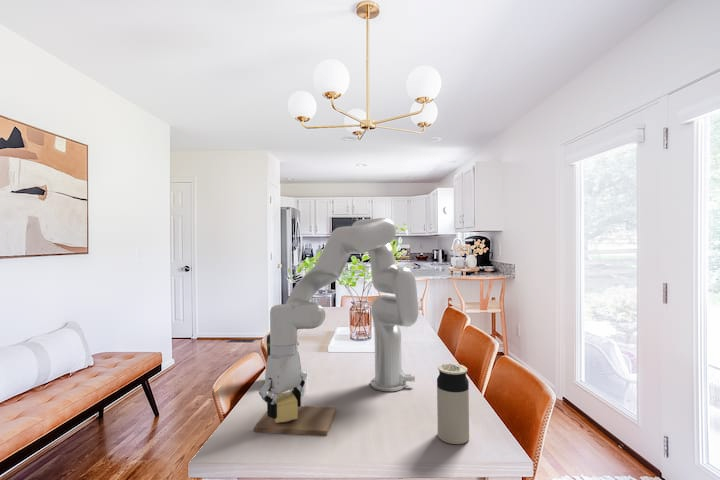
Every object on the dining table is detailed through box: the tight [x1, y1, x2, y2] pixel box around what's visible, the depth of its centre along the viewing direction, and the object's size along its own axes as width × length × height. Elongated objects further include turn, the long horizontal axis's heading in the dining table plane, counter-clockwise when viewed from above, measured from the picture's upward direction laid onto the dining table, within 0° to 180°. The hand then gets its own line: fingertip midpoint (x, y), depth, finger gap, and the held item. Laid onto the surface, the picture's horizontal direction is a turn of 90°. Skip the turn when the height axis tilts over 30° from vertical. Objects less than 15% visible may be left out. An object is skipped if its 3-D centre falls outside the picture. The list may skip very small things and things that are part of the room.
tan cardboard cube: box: [271, 392, 298, 423], centre depth 105 cm, size 6×6×5 cm
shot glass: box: [289, 369, 309, 398], centre depth 126 cm, size 7×7×7 cm
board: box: [253, 405, 337, 436], centre depth 107 cm, size 20×14×1 cm
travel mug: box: [436, 362, 470, 445], centre depth 97 cm, size 8×8×18 cm
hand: (284, 410), depth 105 cm, fingers closed on tan cardboard cube, 8 cm apart
